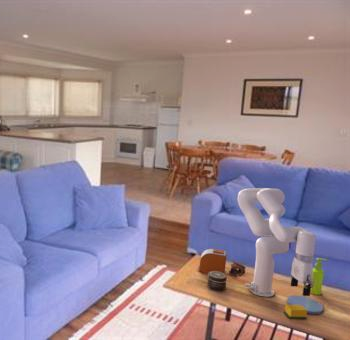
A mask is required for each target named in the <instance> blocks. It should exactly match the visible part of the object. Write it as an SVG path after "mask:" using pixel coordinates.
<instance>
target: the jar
mask: <svg viewBox="0 0 350 340" xmlns="http://www.w3.org/2000/svg"><path fill="white" fill-rule="evenodd" d="M227 281H228V276H227V274H226V273H225V274H224V273H222V272H219V271H211V272H209V273H207V286H208V288H209V289H211V290H213V291H216V292H222V291H224V290H225V289H226V288H227Z"/></svg>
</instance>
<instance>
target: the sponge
mask: <svg viewBox="0 0 350 340" xmlns="http://www.w3.org/2000/svg"><path fill="white" fill-rule="evenodd" d="M284 314H285V315H286V317H288V318H289V319H291V320H292V319H293V320H294V319H295V320H303V319H304V320H307V316H308V315H307V314H308V313H307V310H306V309H305V308H304V307H303V306H302V305H289V304H285V306H284Z"/></svg>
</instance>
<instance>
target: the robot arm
mask: <svg viewBox="0 0 350 340" xmlns="http://www.w3.org/2000/svg"><path fill="white" fill-rule="evenodd" d="M285 200H286V197H285V193H284V192H283V191H282V190H281V189H279V188H269V187H267V188H266V187H255V188H253V187H251V188H244V189H241V190H240V191H239V192H238V194H237V204H238V207H239V208H240V211H241V212H242V213H243V215H244V217H245V219H246V221H247V224H248V226H249V228H250V230H251V233H252V234H253V235H254V236H256V237H259V238H257V239H256V242H255V263H254V273H253V278H252V279H253V280H252V281H251V282H249V283H244V284H243V287H244V288H248V290H249V291H250V292H251V293H252V294H254V295H256V296H259V297H263V298H269V297H270V298H271V297H274V295H275V291H274V290H273V289H272V288H273V280H274V272H275V267H276V265H275V264H276V262H275V259H274V257H273V256H274V255H278V254H279V255H281V254H285V253H287V252H288V251H289V250H290V243H296V245H295V254H294V257H293V260H292V262H291V263H292V264H291V265H292V266H291V267H290V268H289V269H290V275H291V276H290V278H291V279H290V287H298V285H299V282H300V283H302V284H303V289H302V296H304V297H310V296H311V293H310V290H311V288H312V287H313V285H314V281H313V279H312V274H313V268H314V266H313V263H314V255H315V246H316V238H317V235H316V234H315V233H314V232H311V231H308V230H306V229H305V228H303V227H301V226H283V224H282V223H281V222H280V220H279V219H280V218H281V217H284V214H286V207H285V206H284V205H283V203H284V202H285ZM254 204H260V205H261V206H262V208H263V209H264V210H265V212H266V213H267V215H268V216H269V218H265V217H264V216H263V214H262V212H261V210H260V209H259V208H258V207H257V206H255V205H254Z"/></svg>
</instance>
